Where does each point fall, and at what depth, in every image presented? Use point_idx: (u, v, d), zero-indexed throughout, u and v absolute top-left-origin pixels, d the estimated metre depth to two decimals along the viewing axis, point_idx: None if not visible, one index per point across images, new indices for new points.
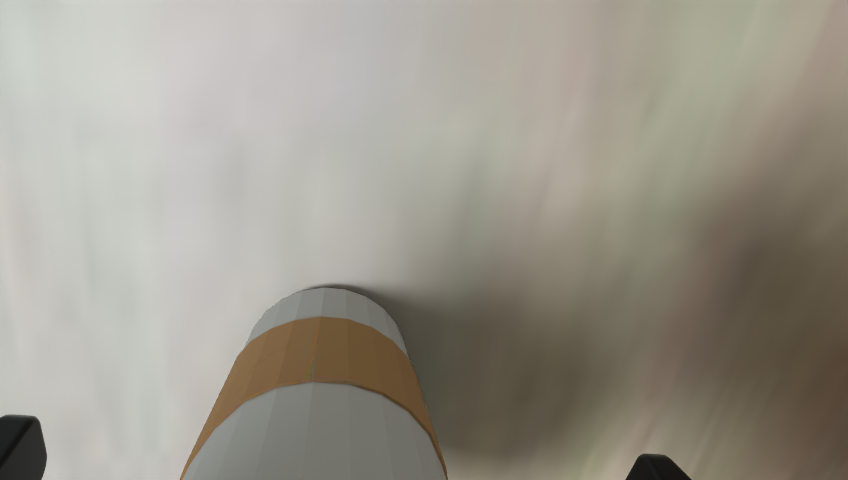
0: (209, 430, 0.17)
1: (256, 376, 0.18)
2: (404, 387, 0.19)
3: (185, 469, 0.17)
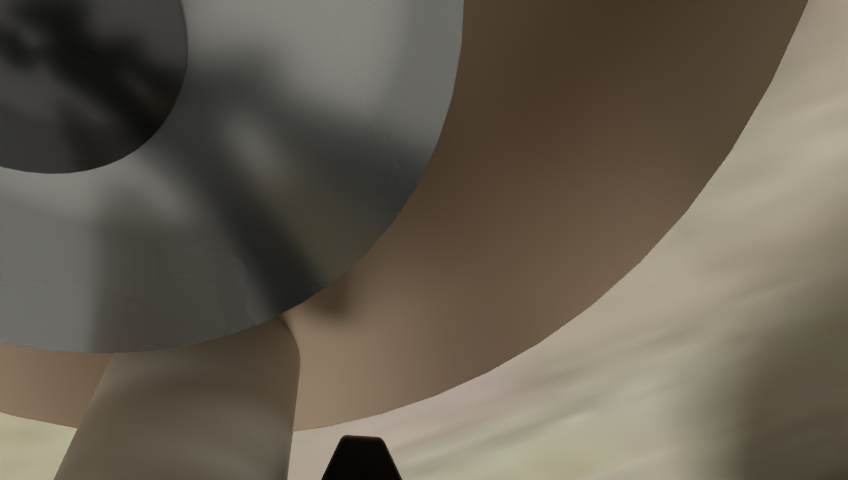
0: None
1: None
2: None
3: None
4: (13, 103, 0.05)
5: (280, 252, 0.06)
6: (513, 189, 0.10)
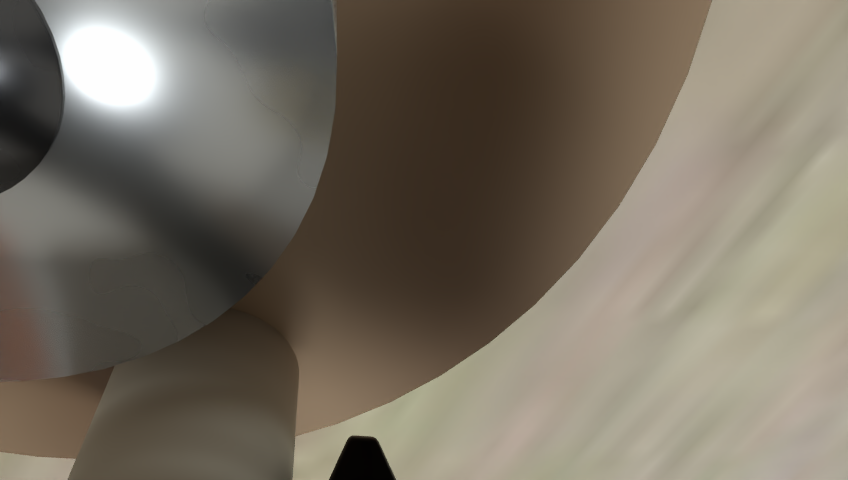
0: None
1: None
2: None
3: None
4: None
5: (209, 248, 0.06)
6: (470, 152, 0.09)
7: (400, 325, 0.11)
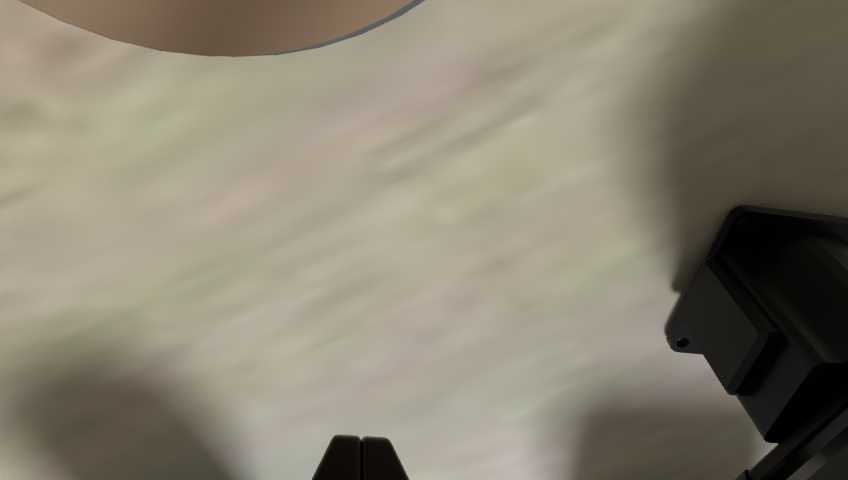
0: None
1: None
2: None
3: None
4: None
5: None
6: None
7: None
